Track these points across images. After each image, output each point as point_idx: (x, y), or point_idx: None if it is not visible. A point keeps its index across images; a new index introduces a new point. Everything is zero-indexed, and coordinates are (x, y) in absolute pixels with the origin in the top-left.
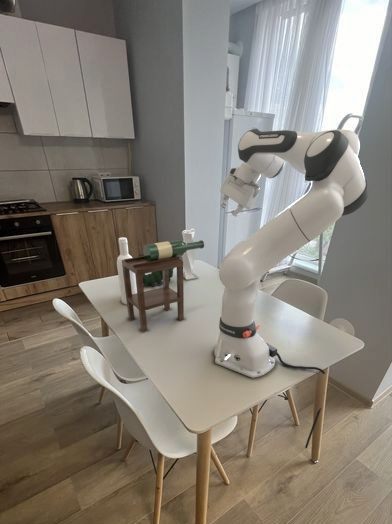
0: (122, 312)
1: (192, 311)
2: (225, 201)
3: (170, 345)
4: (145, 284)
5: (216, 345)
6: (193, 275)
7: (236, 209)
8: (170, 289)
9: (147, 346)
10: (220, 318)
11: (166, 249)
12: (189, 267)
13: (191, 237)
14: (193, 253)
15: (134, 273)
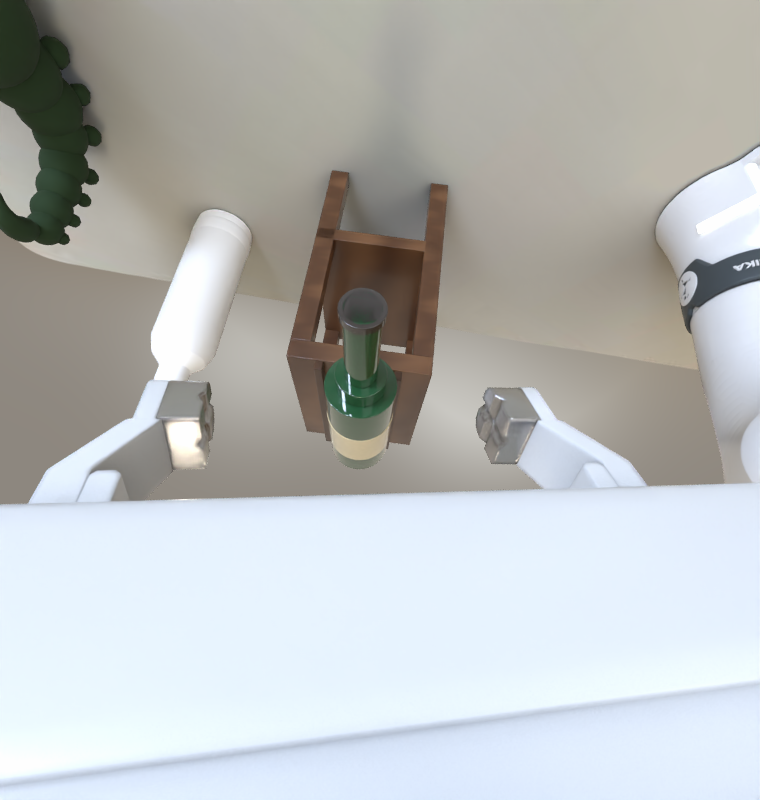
0: (294, 274)
1: (419, 117)
2: (134, 457)
3: (527, 286)
4: (98, 141)
5: (666, 255)
6: None
7: (549, 484)
8: (352, 245)
9: (486, 313)
10: (690, 331)
11: (387, 434)
12: None
13: None
14: None
15: (210, 301)
